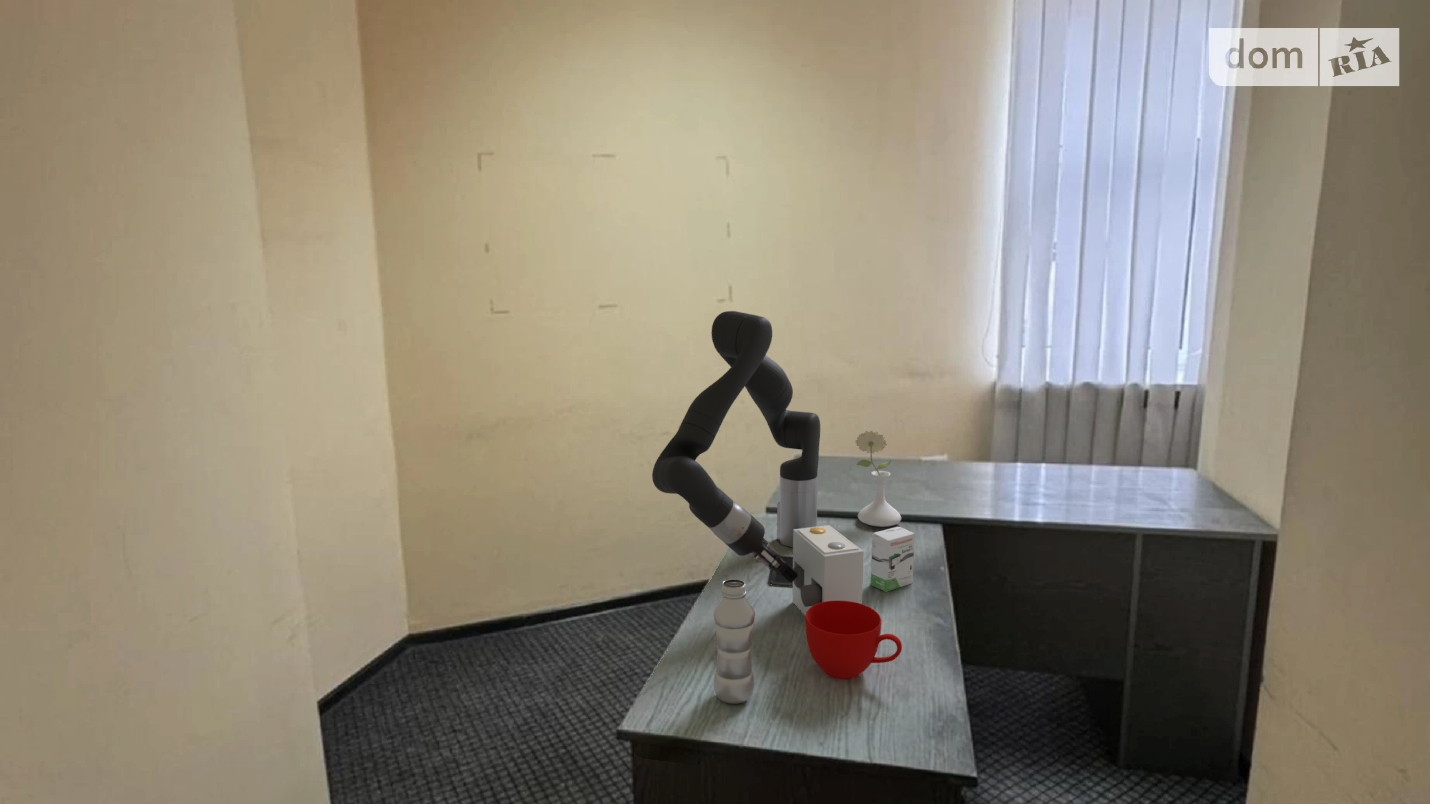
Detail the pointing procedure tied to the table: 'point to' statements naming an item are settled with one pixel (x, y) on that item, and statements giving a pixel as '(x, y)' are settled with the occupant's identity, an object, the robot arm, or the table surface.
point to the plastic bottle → (734, 644)
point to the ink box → (892, 558)
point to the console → (828, 564)
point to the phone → (779, 579)
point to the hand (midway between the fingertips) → (793, 577)
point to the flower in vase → (879, 508)
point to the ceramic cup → (845, 638)
